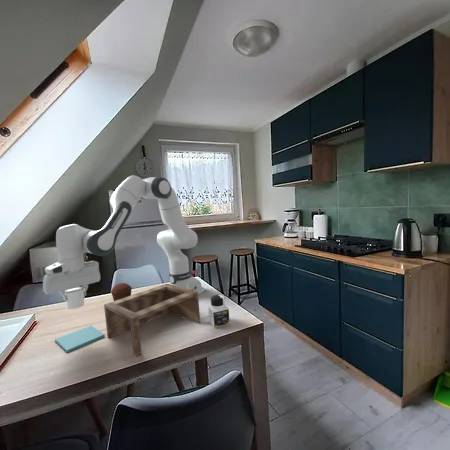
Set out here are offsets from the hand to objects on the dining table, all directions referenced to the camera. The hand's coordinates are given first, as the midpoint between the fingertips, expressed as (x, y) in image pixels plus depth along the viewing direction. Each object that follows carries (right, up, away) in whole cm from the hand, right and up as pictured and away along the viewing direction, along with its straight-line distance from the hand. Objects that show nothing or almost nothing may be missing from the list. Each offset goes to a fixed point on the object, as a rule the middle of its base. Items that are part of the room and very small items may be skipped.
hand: (75, 298), depth 103 cm
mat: (+1, -17, +2) cm, 18 cm away
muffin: (+2, -14, +43) cm, 46 cm away
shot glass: (0, -4, 0) cm, 4 cm away
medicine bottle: (+59, -14, +8) cm, 61 cm away
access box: (+31, -15, +6) cm, 35 cm away
